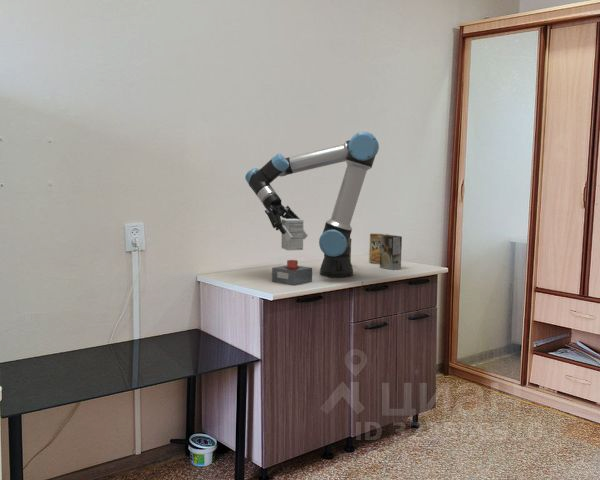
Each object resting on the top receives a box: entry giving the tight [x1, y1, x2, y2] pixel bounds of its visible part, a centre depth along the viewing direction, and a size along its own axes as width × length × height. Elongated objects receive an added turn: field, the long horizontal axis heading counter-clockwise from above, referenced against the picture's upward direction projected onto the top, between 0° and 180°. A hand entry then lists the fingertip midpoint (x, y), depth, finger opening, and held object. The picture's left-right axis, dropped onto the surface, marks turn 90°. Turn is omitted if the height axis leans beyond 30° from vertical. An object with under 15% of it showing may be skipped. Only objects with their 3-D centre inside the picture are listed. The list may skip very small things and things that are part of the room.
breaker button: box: [286, 259, 299, 269], centre depth 258 cm, size 4×4×5 cm
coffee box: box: [379, 234, 403, 271], centre depth 299 cm, size 9×6×16 cm
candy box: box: [368, 232, 390, 264], centre depth 315 cm, size 9×4×15 cm, turn 62°
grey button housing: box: [271, 264, 313, 286], centre depth 258 cm, size 12×12×6 cm
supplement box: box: [281, 218, 304, 251], centre depth 257 cm, size 7×7×13 cm
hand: (298, 238), depth 255 cm, fingers closed on supplement box, 10 cm apart
